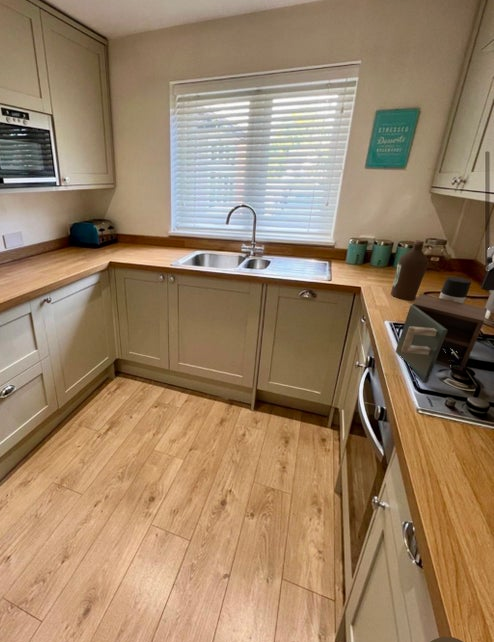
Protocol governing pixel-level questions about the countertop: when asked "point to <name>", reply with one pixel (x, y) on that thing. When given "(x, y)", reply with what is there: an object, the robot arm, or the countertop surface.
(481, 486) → the countertop surface
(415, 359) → the door
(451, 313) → the cupboard
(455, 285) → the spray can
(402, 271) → the olive oil
